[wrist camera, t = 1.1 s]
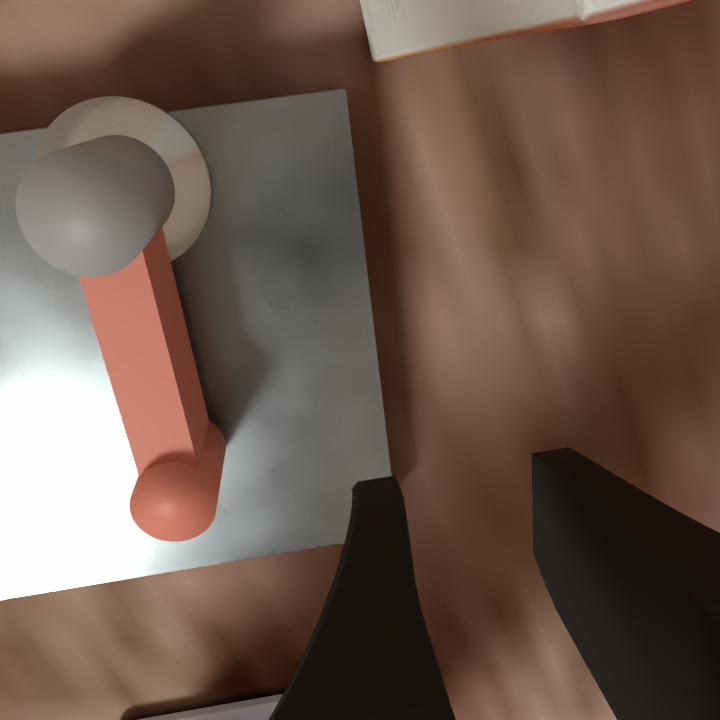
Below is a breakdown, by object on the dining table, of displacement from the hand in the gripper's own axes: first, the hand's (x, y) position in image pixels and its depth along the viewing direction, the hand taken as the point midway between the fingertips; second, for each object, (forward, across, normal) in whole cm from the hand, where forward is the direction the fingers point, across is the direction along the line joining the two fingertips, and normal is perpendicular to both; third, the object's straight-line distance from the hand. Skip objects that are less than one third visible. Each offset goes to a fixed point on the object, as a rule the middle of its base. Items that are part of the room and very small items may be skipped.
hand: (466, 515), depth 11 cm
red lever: (+7, +6, -2) cm, 10 cm away
